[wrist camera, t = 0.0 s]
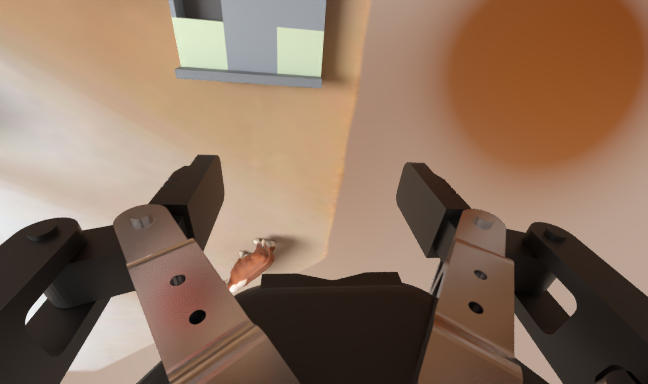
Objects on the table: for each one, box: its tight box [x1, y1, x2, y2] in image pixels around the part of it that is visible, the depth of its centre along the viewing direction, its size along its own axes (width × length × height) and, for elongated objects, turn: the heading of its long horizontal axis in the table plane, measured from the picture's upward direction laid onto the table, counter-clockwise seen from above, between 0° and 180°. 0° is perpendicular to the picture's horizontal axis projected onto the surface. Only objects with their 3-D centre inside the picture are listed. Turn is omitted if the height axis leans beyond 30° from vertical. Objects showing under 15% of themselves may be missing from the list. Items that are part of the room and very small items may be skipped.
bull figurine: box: [223, 238, 275, 292], centre depth 50 cm, size 4×13×8 cm, turn 126°
